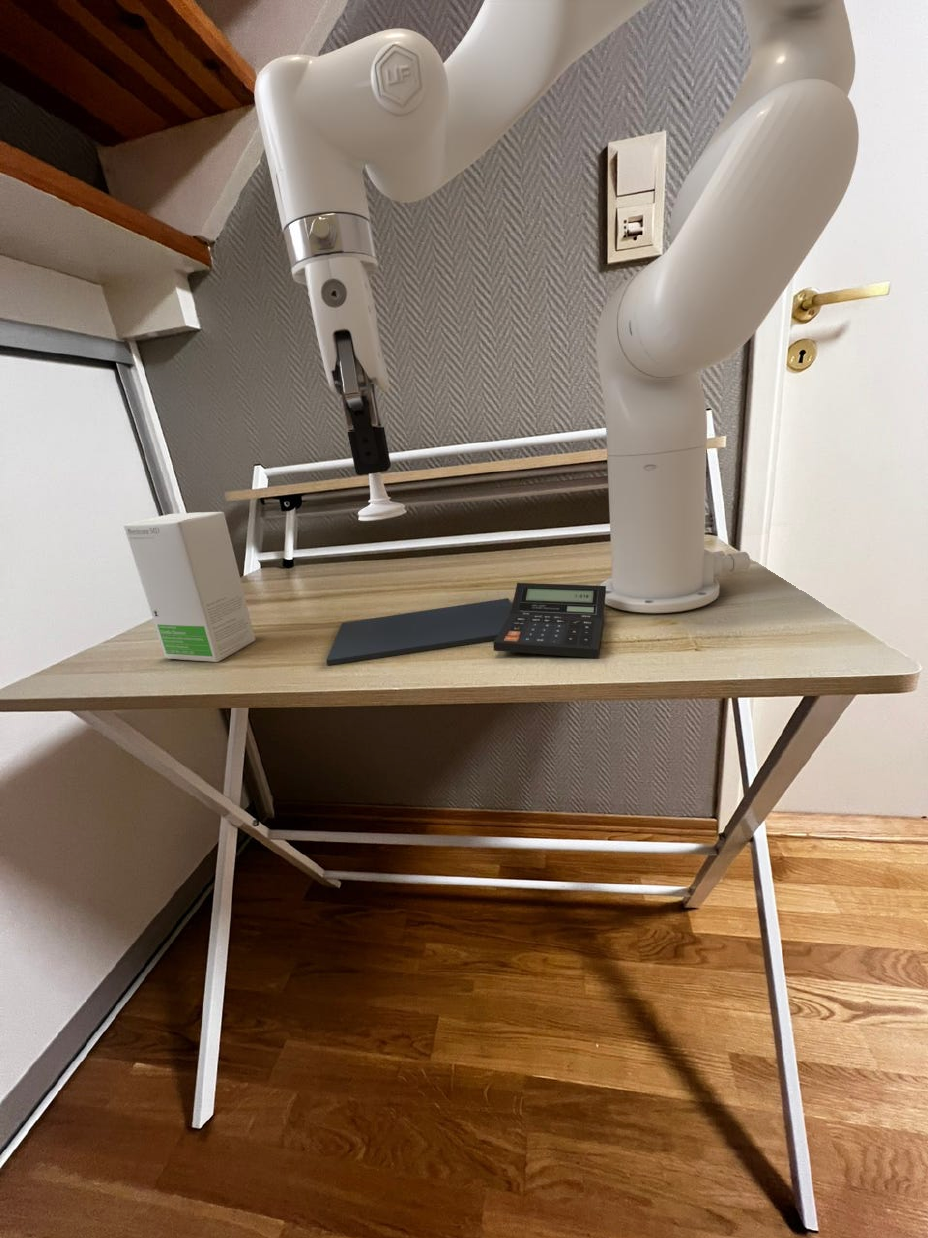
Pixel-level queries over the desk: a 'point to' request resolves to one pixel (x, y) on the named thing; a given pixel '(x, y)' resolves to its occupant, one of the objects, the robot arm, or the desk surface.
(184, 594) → the cosmetic box
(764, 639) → the desk surface
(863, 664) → the desk surface
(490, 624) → the desk mat
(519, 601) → the calculator
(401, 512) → the chess piece
